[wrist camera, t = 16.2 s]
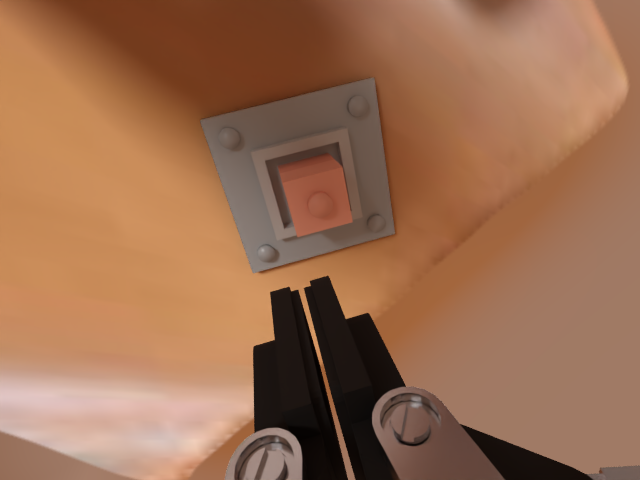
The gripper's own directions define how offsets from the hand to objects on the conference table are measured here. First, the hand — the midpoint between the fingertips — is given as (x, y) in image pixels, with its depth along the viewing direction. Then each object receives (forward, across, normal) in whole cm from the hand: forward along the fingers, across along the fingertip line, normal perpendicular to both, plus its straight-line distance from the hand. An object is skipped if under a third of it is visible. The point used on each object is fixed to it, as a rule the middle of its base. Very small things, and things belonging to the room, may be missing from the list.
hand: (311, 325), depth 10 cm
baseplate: (+27, -3, +4) cm, 28 cm away
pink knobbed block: (+26, -3, +4) cm, 27 cm away
